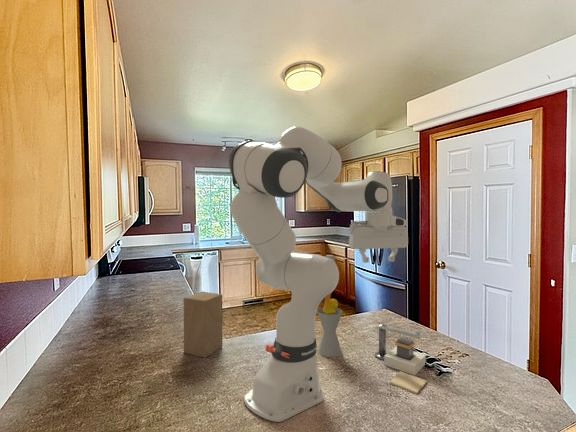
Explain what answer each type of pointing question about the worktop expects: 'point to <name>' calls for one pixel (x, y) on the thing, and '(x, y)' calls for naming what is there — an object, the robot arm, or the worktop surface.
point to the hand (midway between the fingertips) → (378, 261)
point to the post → (381, 345)
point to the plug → (405, 348)
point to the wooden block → (202, 324)
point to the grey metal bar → (401, 331)
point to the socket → (405, 362)
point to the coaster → (408, 382)
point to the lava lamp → (329, 326)
